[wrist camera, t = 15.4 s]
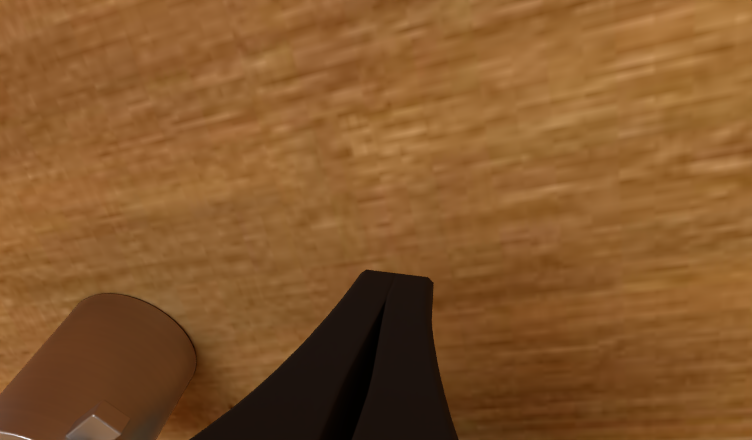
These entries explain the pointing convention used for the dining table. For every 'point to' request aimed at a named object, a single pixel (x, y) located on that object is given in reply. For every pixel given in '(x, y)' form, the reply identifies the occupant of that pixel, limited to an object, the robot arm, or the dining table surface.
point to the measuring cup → (101, 375)
